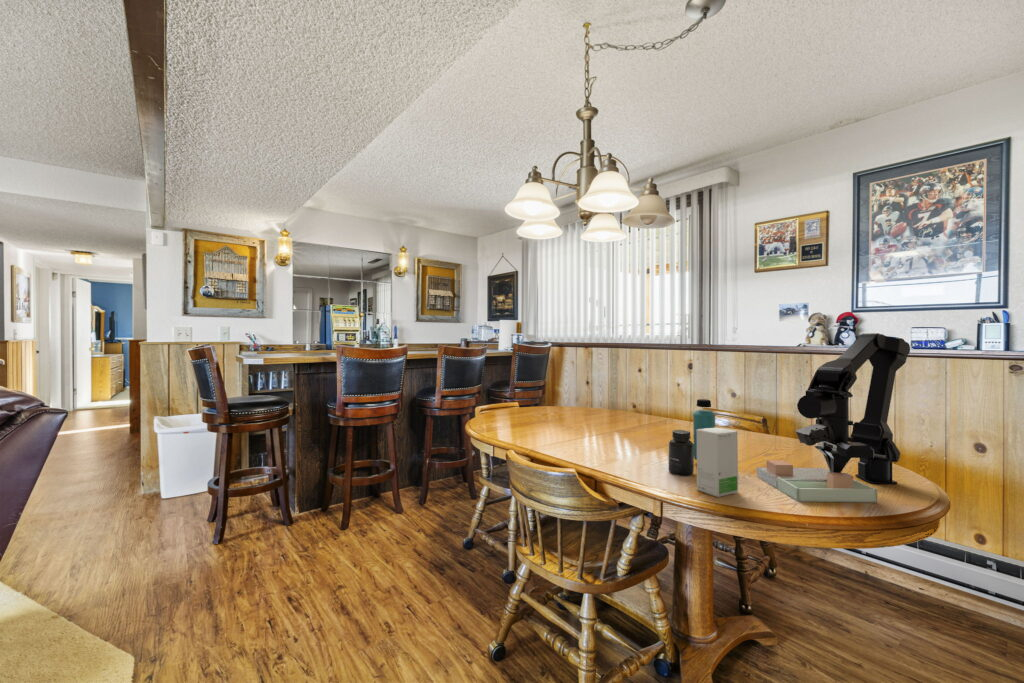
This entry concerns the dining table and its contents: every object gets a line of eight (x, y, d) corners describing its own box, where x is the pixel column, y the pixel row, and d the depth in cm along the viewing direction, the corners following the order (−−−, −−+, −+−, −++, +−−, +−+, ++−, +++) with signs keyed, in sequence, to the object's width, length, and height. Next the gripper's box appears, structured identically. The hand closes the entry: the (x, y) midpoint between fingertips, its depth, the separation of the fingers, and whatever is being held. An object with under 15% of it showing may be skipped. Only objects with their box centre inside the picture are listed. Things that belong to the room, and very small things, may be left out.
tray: (850, 489, 110) (850, 477, 110) (877, 502, 101) (877, 489, 101) (777, 488, 111) (777, 477, 111) (797, 501, 102) (797, 488, 102)
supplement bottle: (668, 474, 123) (667, 432, 123) (669, 468, 129) (668, 428, 129) (694, 477, 120) (693, 434, 120) (693, 470, 127) (693, 429, 127)
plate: (823, 476, 120) (823, 468, 120) (849, 489, 110) (849, 479, 110) (756, 476, 121) (756, 467, 121) (776, 488, 111) (776, 478, 111)
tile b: (783, 469, 119) (783, 460, 119) (793, 474, 114) (793, 465, 114) (766, 469, 119) (766, 460, 119) (775, 474, 115) (775, 464, 115)
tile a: (846, 472, 108) (853, 476, 105) (846, 490, 108) (853, 494, 105) (826, 472, 108) (833, 475, 106) (827, 490, 108) (833, 493, 106)
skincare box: (717, 498, 105) (717, 433, 105) (694, 489, 111) (694, 429, 110) (739, 492, 109) (739, 430, 108) (716, 484, 114) (716, 425, 114)
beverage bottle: (718, 467, 129) (718, 401, 129) (695, 466, 131) (694, 400, 131) (713, 461, 136) (712, 398, 136) (690, 460, 137) (690, 397, 137)
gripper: (781, 409, 119) (781, 465, 119) (825, 422, 101) (826, 489, 101) (823, 409, 119) (823, 466, 119) (875, 422, 100) (876, 489, 100)
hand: (834, 476), depth 110 cm, fingers closed
